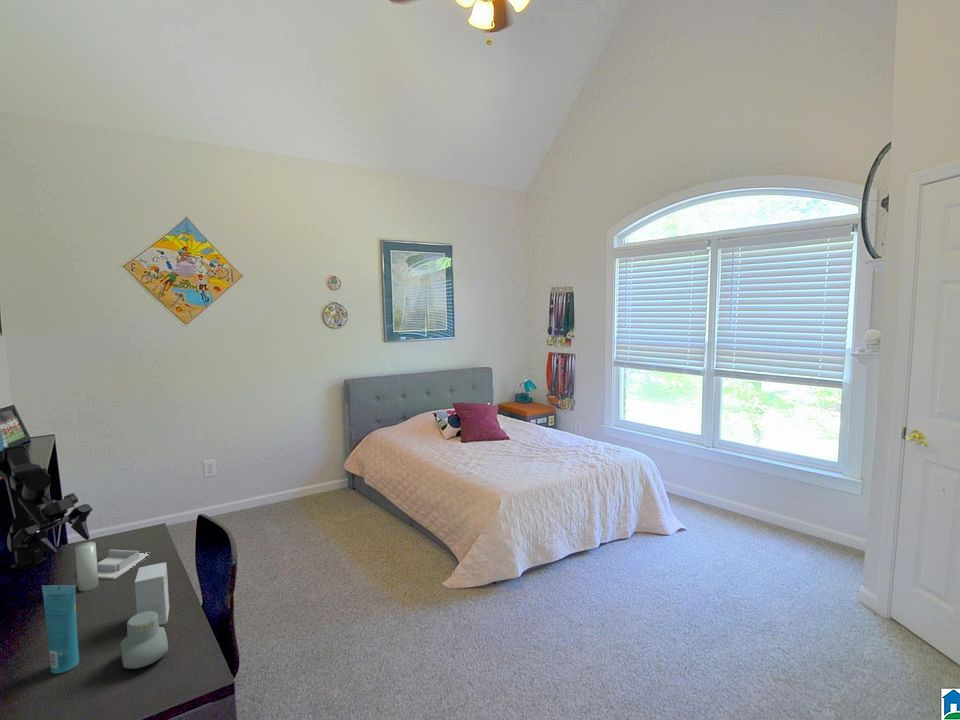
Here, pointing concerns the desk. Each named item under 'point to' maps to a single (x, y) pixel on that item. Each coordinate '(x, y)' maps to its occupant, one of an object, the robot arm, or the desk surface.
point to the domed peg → (86, 566)
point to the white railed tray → (118, 563)
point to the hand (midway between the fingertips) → (72, 546)
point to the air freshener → (143, 641)
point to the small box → (153, 591)
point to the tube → (61, 626)
